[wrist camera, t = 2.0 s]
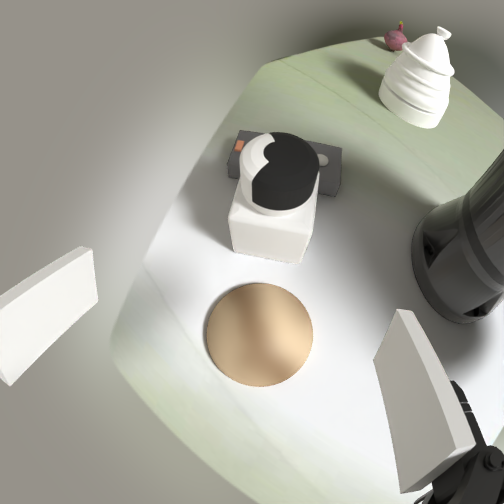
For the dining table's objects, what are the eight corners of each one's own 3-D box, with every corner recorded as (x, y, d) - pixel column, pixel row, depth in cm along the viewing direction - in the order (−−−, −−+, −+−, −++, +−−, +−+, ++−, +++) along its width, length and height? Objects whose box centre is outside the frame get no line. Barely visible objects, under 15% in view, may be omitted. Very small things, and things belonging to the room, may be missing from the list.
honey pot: (403, 83, 45) (426, 15, 28) (448, 122, 40) (483, 53, 23) (365, 90, 42) (387, 8, 26) (416, 134, 38) (456, 49, 21)
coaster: (268, 266, 29) (268, 264, 28) (332, 341, 26) (333, 341, 25) (187, 324, 27) (186, 323, 26) (249, 406, 23) (249, 407, 23)
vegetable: (407, 56, 51) (416, 27, 42) (396, 58, 50) (406, 27, 41) (389, 45, 53) (396, 17, 44) (377, 47, 52) (385, 16, 43)
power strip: (337, 160, 35) (342, 146, 32) (335, 196, 32) (340, 182, 30) (240, 143, 36) (239, 128, 33) (228, 177, 34) (226, 162, 31)
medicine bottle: (309, 208, 32) (330, 131, 21) (300, 266, 29) (325, 201, 18) (247, 197, 32) (244, 117, 21) (232, 253, 30) (219, 182, 19)
